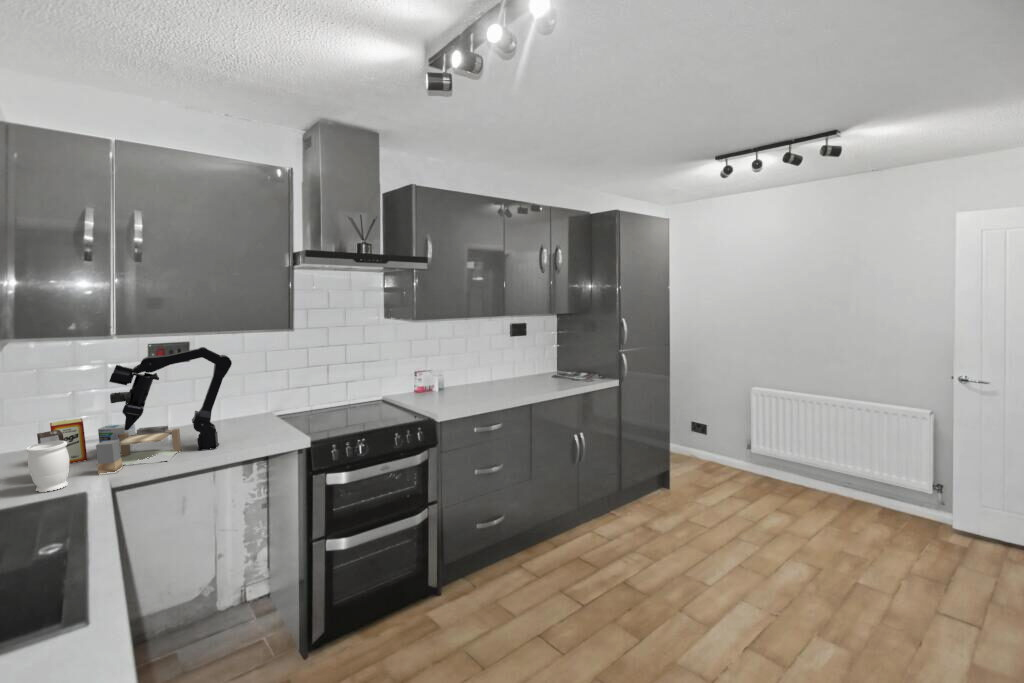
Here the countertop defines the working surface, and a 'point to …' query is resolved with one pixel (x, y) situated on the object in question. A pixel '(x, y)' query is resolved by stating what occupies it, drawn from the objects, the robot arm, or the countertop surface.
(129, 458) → the stand
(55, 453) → the jar
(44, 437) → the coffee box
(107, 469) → the plinth
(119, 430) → the light bulb box
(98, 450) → the basalt block
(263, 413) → the countertop surface
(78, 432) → the baking soda box
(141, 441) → the trapdoor
